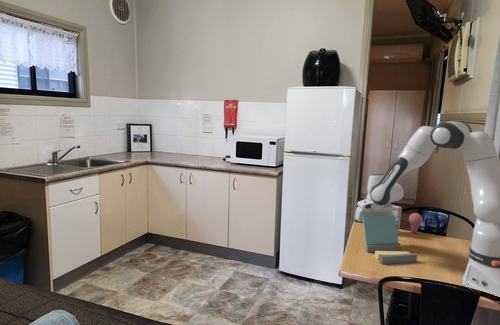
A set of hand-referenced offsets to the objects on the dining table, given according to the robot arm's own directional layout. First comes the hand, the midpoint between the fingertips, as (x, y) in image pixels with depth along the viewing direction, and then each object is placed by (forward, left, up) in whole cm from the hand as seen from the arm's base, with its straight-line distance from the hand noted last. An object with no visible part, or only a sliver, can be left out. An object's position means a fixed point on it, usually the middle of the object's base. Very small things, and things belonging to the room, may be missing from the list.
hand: (373, 228), depth 173 cm
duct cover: (-7, 0, +2) cm, 8 cm away
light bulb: (+9, -33, -8) cm, 35 cm away
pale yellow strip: (-19, 0, -8) cm, 20 cm away
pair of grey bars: (-17, 0, -8) cm, 18 cm away
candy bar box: (+12, -18, -8) cm, 23 cm away
